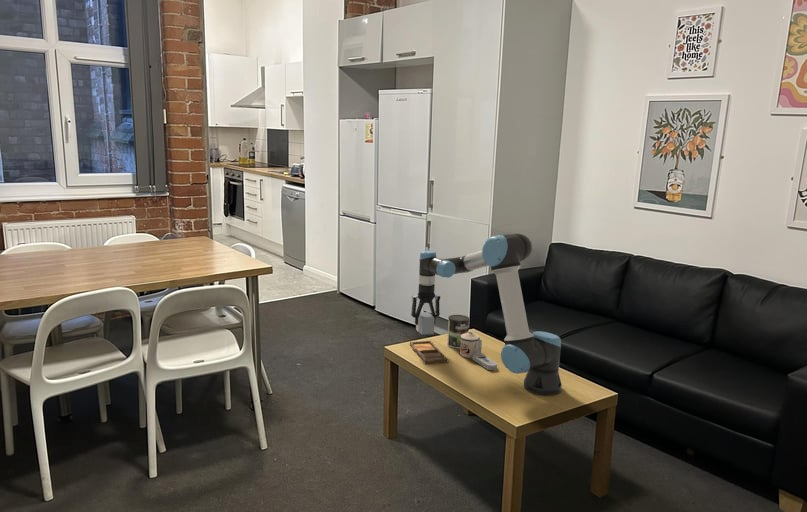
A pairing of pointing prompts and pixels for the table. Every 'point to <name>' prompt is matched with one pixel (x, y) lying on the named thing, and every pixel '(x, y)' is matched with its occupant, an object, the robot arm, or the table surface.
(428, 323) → the grey paneled block
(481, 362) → the electronic device
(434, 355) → the tray
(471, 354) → the teacup with lid
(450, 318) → the coffee can
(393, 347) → the table surface
